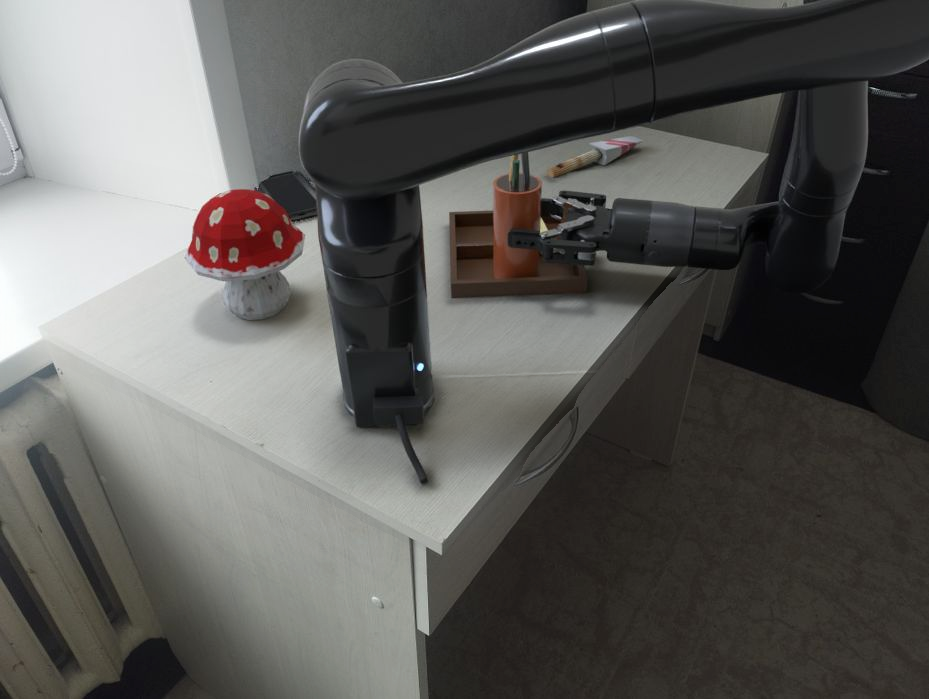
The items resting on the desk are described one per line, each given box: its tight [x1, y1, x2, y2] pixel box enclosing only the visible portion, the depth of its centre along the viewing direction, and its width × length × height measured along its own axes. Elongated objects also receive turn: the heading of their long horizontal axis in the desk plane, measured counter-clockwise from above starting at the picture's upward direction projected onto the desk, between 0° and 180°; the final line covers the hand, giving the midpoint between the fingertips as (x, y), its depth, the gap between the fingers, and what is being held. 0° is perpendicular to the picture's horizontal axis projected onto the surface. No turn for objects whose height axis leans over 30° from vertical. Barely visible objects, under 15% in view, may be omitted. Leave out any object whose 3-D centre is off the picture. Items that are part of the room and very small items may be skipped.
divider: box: [456, 242, 564, 259], centre depth 99 cm, size 1×15×2 cm, turn 91°
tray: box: [448, 209, 588, 299], centre depth 99 cm, size 19×17×2 cm
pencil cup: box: [492, 152, 543, 279], centre depth 91 cm, size 6×6×16 cm
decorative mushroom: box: [184, 188, 306, 321], centre depth 88 cm, size 14×14×15 cm
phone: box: [253, 170, 317, 222], centre depth 116 cm, size 8×1×15 cm
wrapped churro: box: [546, 135, 645, 178], centre depth 124 cm, size 4×3×20 cm
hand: (514, 221), depth 92 cm, fingers open, 8 cm apart
